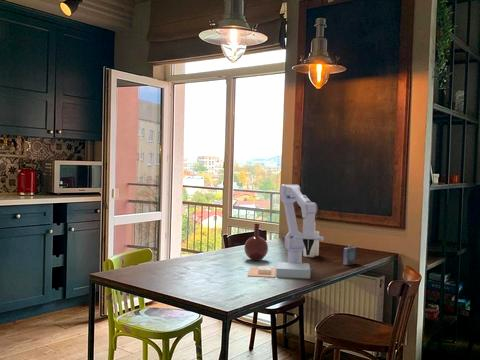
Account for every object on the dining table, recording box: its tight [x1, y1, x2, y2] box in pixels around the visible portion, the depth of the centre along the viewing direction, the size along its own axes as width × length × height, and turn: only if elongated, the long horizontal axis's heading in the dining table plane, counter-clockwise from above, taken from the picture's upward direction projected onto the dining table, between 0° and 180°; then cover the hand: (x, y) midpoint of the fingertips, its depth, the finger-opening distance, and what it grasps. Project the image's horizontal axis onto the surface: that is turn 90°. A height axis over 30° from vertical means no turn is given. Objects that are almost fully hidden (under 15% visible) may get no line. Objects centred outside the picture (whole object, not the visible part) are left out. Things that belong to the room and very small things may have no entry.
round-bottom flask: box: [243, 223, 269, 261], centre depth 266 cm, size 13×13×20 cm
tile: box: [257, 265, 272, 274], centre depth 235 cm, size 8×6×2 cm
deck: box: [275, 261, 311, 279], centre depth 234 cm, size 15×16×4 cm
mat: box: [247, 266, 277, 279], centre depth 236 cm, size 18×13×1 cm
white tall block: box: [302, 221, 320, 258], centre depth 284 cm, size 11×7×20 cm, turn 146°
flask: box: [342, 243, 357, 266], centre depth 262 cm, size 9×3×11 cm, turn 129°
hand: (307, 254), depth 235 cm, fingers closed
